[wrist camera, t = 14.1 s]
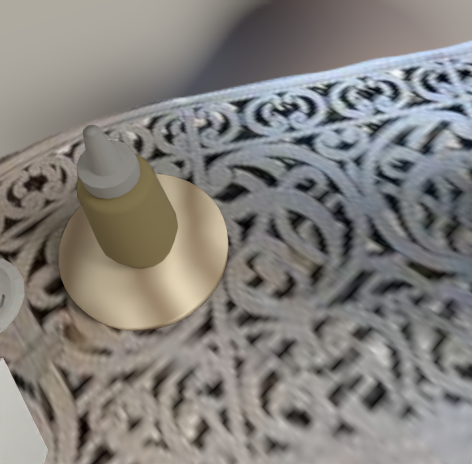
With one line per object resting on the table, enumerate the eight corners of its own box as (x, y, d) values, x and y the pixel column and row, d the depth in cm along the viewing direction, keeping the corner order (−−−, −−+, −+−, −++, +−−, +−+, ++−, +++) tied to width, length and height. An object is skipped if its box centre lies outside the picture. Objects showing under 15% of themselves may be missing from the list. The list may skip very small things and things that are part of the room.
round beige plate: (202, 164, 53) (196, 131, 47) (251, 298, 45) (251, 277, 39) (53, 206, 51) (30, 176, 45) (77, 355, 43) (52, 340, 37)
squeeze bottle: (168, 201, 49) (129, 75, 33) (194, 261, 45) (165, 154, 29) (98, 227, 47) (22, 110, 31) (119, 291, 44) (46, 196, 28)
